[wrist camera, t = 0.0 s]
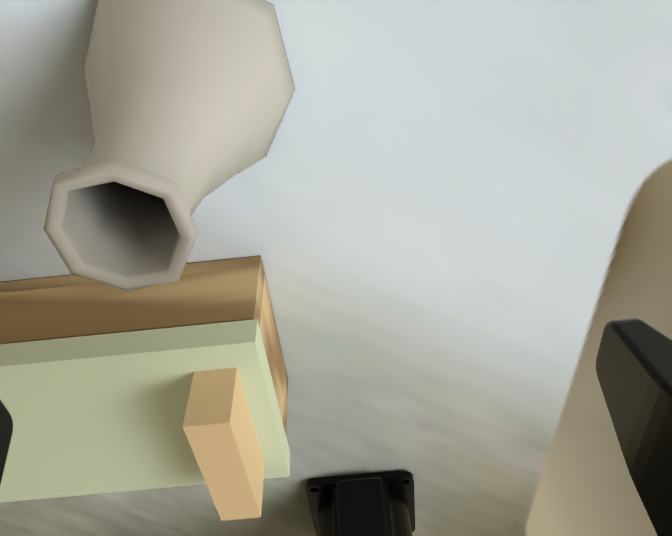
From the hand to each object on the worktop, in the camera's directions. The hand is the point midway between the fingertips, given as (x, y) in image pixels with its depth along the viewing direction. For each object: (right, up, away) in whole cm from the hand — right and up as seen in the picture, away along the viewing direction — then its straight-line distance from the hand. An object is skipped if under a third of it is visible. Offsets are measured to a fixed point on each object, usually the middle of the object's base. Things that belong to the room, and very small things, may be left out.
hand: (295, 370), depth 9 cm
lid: (-9, -4, +16) cm, 19 cm away
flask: (-4, +8, +12) cm, 15 cm away
